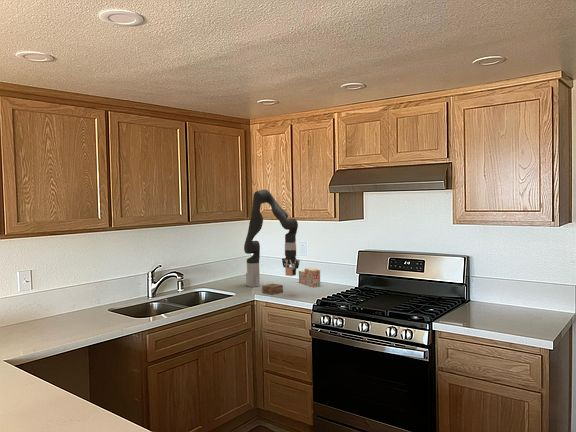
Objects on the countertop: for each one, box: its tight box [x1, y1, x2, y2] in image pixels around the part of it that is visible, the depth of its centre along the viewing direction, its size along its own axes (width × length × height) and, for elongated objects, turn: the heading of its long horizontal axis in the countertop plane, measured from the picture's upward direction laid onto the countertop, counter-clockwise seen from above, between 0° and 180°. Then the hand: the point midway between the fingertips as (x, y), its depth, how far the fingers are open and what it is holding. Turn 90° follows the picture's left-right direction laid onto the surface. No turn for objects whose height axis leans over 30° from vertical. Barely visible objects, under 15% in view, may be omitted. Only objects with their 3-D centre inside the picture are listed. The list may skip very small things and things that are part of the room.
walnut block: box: [261, 283, 284, 296], centre depth 332 cm, size 10×10×5 cm
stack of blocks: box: [298, 267, 321, 288], centre depth 359 cm, size 21×6×12 cm, turn 28°
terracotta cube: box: [284, 266, 297, 277], centre depth 322 cm, size 5×5×5 cm
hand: (290, 274), depth 322 cm, fingers closed on terracotta cube, 5 cm apart
